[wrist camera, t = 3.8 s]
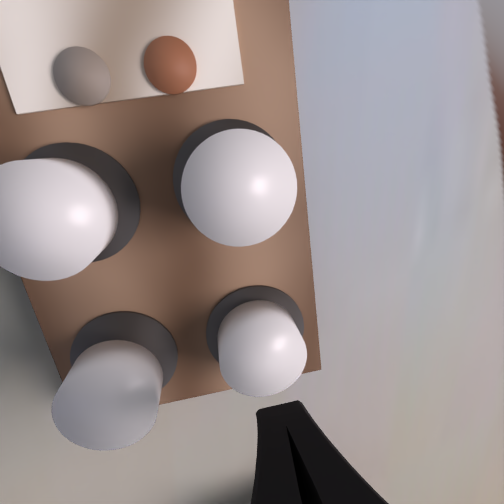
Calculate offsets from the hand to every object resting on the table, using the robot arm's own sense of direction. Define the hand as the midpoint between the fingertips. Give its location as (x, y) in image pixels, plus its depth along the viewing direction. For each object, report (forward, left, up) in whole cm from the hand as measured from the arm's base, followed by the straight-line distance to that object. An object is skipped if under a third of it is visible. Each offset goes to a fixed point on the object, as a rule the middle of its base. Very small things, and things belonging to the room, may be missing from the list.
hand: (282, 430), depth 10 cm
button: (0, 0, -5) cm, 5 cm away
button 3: (0, +7, -4) cm, 8 cm away
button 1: (-6, +7, -4) cm, 10 cm away
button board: (-3, +7, -8) cm, 11 cm away
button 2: (-6, 0, -4) cm, 7 cm away
